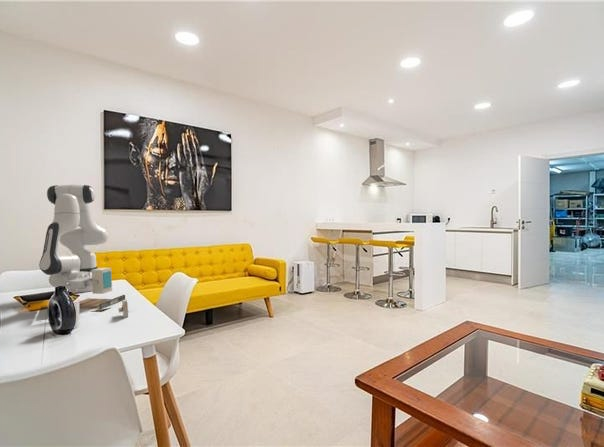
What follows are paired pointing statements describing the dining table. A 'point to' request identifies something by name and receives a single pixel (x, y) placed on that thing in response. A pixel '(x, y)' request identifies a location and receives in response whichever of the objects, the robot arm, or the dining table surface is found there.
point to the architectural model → (124, 309)
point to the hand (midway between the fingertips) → (103, 280)
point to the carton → (102, 280)
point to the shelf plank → (99, 303)
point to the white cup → (77, 314)
